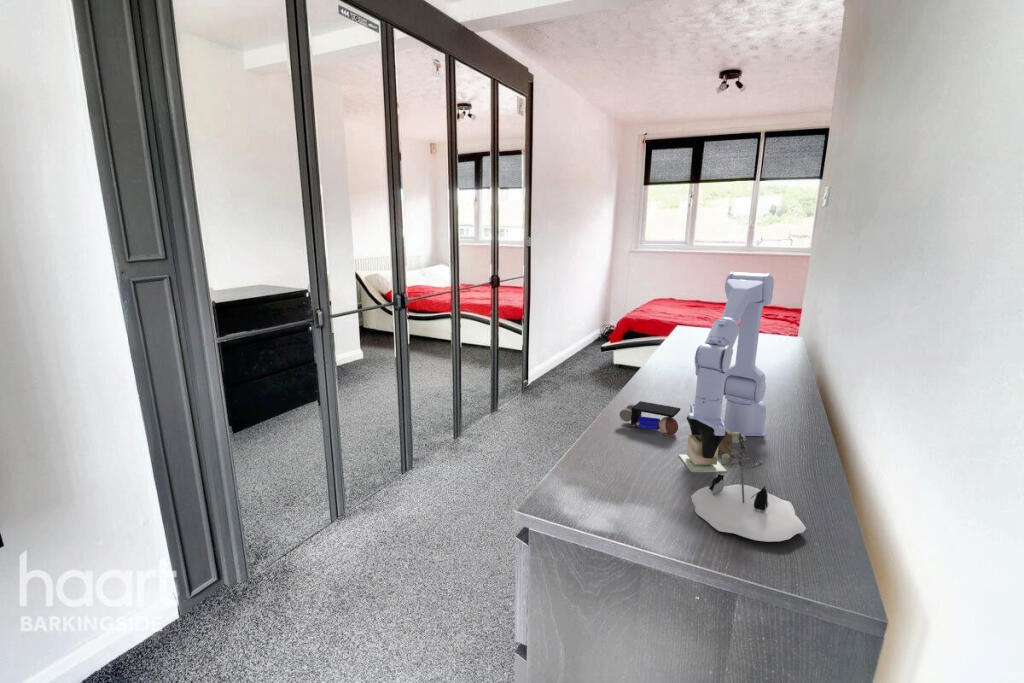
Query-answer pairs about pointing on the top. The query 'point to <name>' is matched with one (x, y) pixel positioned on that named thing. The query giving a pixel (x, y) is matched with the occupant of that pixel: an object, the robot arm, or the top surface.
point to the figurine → (746, 506)
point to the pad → (701, 468)
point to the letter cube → (699, 451)
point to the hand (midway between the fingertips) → (702, 452)
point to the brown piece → (726, 444)
